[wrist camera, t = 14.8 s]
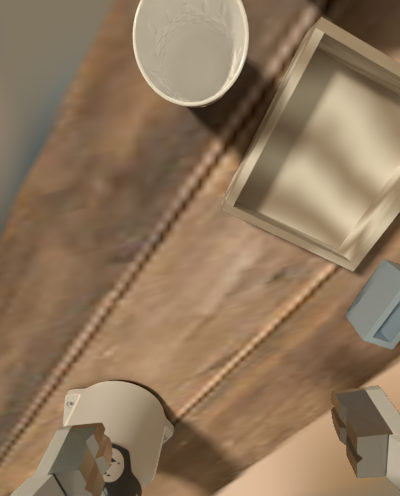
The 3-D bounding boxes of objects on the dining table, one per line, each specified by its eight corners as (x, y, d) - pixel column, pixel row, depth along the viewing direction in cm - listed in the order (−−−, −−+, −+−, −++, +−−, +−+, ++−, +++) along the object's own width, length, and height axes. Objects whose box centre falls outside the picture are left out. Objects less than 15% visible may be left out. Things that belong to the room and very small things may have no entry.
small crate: (371, 323, 39) (392, 349, 34) (345, 314, 39) (362, 340, 34) (411, 269, 35) (440, 289, 31) (383, 258, 35) (408, 278, 30)
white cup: (254, 63, 28) (273, 30, 19) (203, 129, 30) (198, 130, 21) (192, 0, 26) (180, -70, 17) (144, 76, 29) (110, 51, 20)
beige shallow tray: (336, 254, 35) (353, 271, 31) (221, 199, 33) (222, 210, 29) (441, 112, 29) (479, 109, 25) (305, 34, 27) (321, 16, 23)
